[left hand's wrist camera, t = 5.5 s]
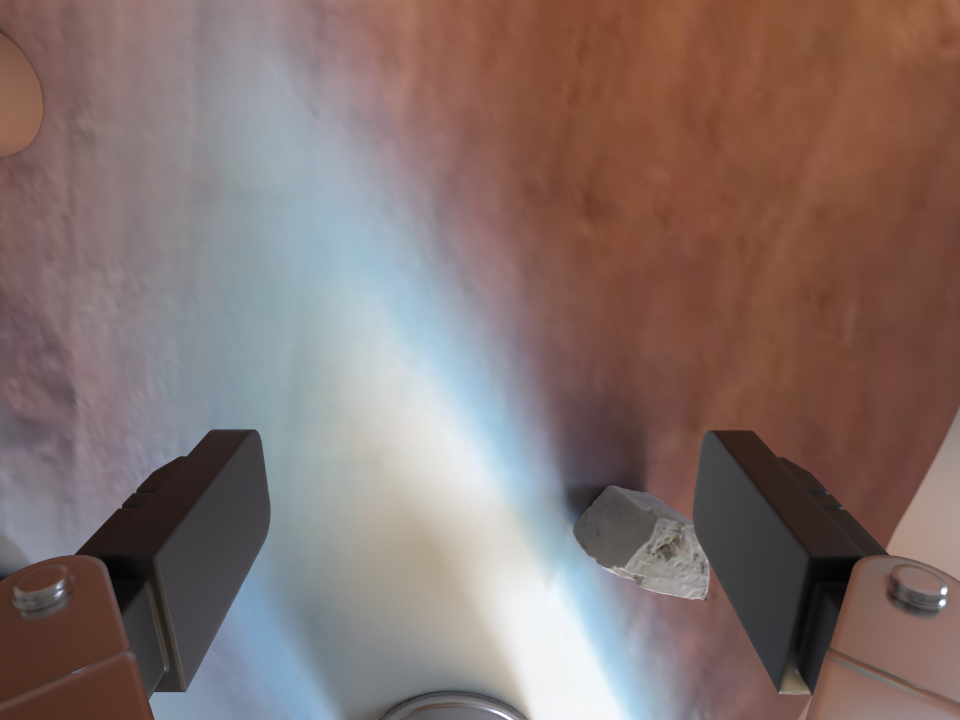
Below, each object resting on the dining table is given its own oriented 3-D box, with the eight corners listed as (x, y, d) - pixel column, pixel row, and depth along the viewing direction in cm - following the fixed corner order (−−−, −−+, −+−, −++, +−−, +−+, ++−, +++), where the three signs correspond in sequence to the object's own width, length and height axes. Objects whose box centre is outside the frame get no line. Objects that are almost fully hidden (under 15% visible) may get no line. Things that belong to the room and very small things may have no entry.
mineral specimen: (685, 561, 46) (696, 642, 39) (571, 529, 48) (561, 602, 40) (715, 479, 44) (734, 549, 36) (594, 447, 45) (588, 509, 38)
